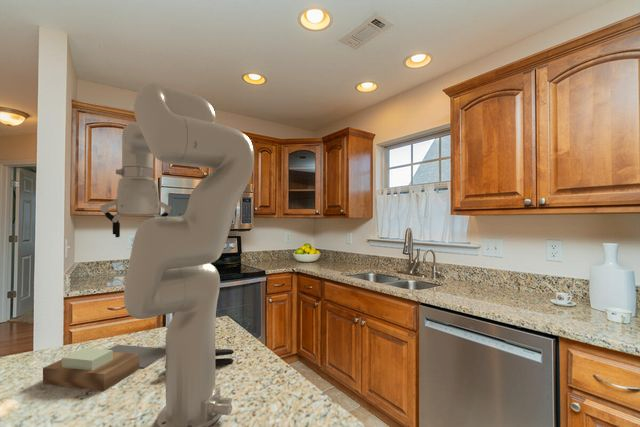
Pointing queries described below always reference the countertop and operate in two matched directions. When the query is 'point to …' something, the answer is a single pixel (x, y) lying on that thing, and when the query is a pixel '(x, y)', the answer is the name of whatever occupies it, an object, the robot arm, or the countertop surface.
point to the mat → (141, 353)
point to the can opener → (222, 360)
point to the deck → (92, 373)
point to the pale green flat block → (87, 359)
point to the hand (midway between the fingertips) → (137, 236)
